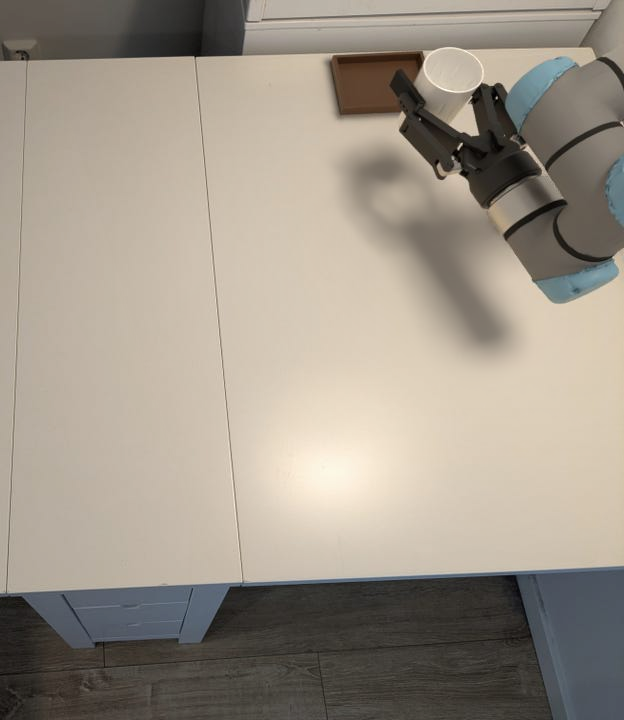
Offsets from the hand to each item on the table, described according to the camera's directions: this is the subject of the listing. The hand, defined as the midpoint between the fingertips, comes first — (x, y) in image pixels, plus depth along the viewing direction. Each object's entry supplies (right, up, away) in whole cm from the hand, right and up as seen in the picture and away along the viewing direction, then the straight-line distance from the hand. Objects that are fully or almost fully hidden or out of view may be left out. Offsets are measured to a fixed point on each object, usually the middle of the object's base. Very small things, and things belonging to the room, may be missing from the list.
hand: (421, 68), depth 79 cm
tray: (+3, +8, +22) cm, 23 cm away
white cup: (+2, -6, +4) cm, 8 cm away
